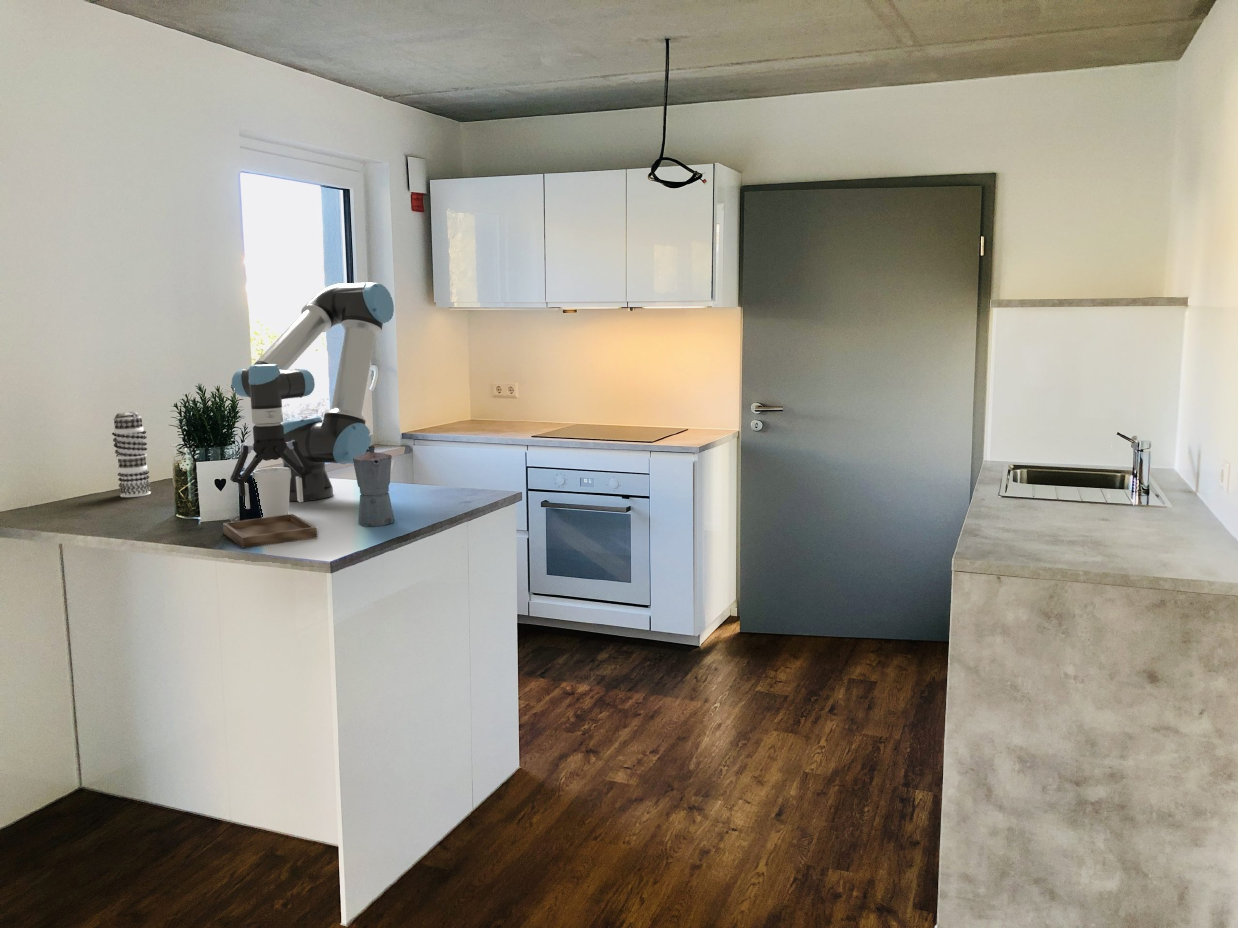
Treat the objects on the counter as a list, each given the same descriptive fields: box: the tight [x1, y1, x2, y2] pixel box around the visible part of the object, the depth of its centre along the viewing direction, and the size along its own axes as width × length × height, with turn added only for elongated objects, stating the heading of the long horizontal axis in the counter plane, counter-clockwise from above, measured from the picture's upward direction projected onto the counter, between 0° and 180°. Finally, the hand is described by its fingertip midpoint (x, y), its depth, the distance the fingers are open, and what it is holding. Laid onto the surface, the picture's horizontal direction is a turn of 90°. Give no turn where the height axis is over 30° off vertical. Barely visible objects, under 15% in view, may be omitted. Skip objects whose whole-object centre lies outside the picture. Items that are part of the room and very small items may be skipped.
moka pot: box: [353, 445, 395, 527], centre depth 243 cm, size 10×15×20 cm, turn 28°
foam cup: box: [251, 466, 291, 518], centre depth 251 cm, size 10×9×13 cm
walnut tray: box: [222, 513, 318, 549], centre depth 233 cm, size 17×20×2 cm
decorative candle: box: [111, 411, 152, 498], centre depth 289 cm, size 9×9×25 cm
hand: (274, 504), depth 251 cm, fingers open, 13 cm apart
